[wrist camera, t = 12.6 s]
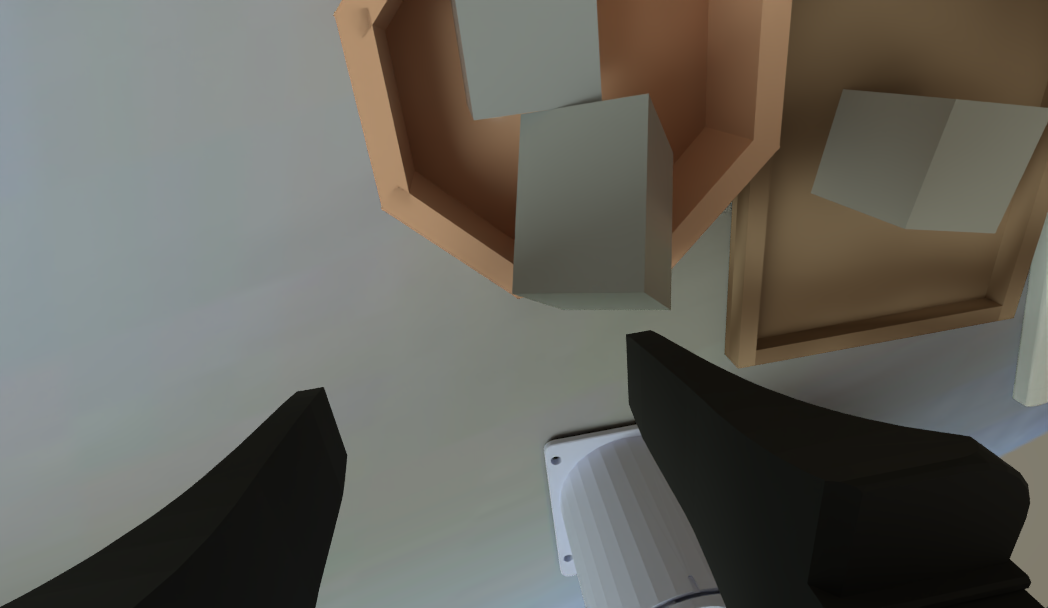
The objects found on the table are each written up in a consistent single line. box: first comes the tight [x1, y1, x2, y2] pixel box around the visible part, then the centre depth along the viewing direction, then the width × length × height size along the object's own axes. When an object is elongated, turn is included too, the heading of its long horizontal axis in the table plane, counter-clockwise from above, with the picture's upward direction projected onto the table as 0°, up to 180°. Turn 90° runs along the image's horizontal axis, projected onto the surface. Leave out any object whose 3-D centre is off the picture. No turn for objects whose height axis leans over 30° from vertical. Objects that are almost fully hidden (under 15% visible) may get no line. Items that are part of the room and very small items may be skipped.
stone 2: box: [512, 93, 673, 310], centre depth 15 cm, size 4×4×5 cm
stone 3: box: [811, 89, 1048, 234], centre depth 19 cm, size 4×4×5 cm
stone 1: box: [450, 0, 602, 120], centre depth 16 cm, size 4×4×5 cm
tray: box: [725, 0, 1048, 368], centre depth 21 cm, size 18×14×1 cm
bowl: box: [333, 0, 792, 299], centre depth 17 cm, size 13×13×4 cm
